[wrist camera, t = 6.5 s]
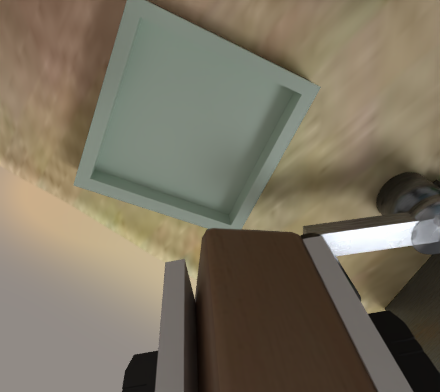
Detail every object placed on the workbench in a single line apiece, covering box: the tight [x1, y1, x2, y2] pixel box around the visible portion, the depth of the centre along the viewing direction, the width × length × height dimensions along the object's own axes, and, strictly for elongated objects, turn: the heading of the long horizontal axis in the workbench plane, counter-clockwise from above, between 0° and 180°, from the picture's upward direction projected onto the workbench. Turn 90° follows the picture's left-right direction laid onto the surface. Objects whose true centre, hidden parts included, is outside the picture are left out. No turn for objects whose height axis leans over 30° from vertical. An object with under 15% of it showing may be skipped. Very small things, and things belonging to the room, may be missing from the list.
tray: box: [74, 0, 321, 229], centre depth 27 cm, size 14×14×2 cm
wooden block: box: [195, 228, 377, 392], centre depth 11 cm, size 4×4×8 cm
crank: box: [300, 195, 440, 302], centre depth 26 cm, size 15×5×7 cm, turn 95°
